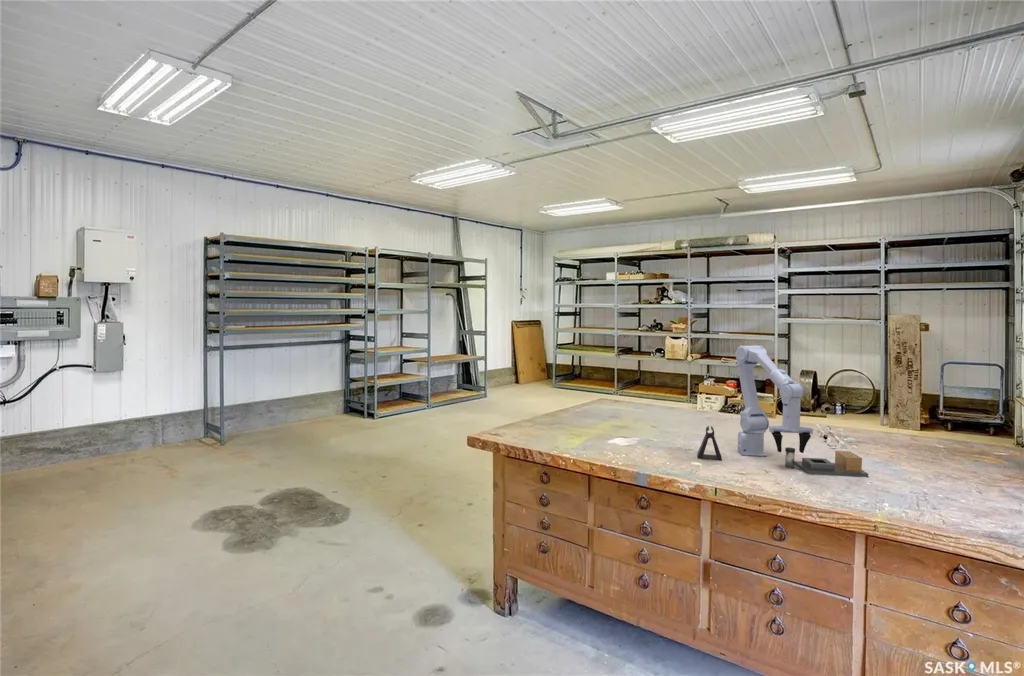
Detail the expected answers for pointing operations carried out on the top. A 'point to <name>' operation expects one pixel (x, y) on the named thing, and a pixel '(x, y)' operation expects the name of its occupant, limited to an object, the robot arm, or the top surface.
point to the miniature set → (841, 443)
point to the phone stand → (703, 446)
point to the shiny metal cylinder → (789, 457)
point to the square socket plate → (834, 465)
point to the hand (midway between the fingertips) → (790, 451)
